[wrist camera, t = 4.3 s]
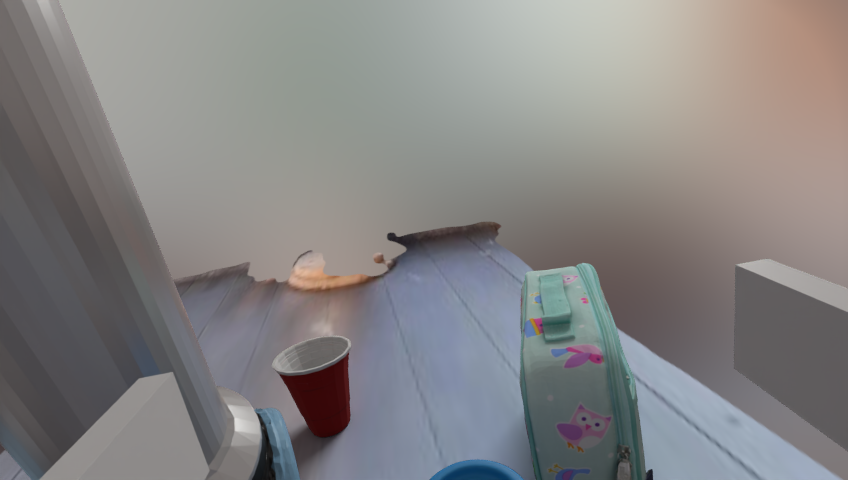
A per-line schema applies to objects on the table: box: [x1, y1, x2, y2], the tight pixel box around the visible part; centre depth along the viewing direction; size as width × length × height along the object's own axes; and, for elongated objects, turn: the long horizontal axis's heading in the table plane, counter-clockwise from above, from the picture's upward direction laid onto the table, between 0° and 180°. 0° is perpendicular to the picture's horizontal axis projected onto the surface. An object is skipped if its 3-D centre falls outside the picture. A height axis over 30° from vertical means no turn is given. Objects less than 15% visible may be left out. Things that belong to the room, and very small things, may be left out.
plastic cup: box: [272, 336, 351, 437], centre depth 63 cm, size 11×11×12 cm
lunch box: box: [520, 263, 653, 480], centre depth 48 cm, size 27×10×21 cm, turn 169°
